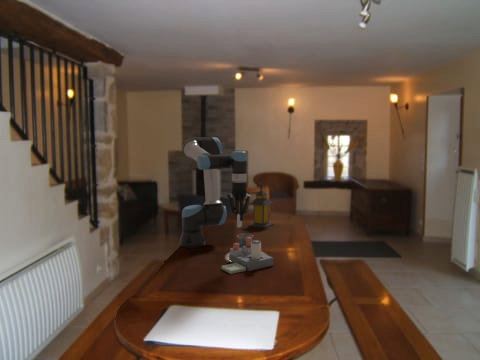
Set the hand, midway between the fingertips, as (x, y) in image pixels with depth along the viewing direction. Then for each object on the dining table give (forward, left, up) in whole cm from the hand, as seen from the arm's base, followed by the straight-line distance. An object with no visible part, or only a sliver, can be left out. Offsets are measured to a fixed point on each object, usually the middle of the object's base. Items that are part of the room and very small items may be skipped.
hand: (239, 226), depth 213 cm
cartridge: (+10, +3, -19) cm, 21 cm away
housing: (+6, +3, -19) cm, 20 cm away
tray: (+9, -10, -18) cm, 23 cm away
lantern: (-61, +60, -19) cm, 87 cm away
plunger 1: (0, -2, -13) cm, 13 cm away
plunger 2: (0, +6, -11) cm, 13 cm away
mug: (-10, +11, -19) cm, 24 cm away
